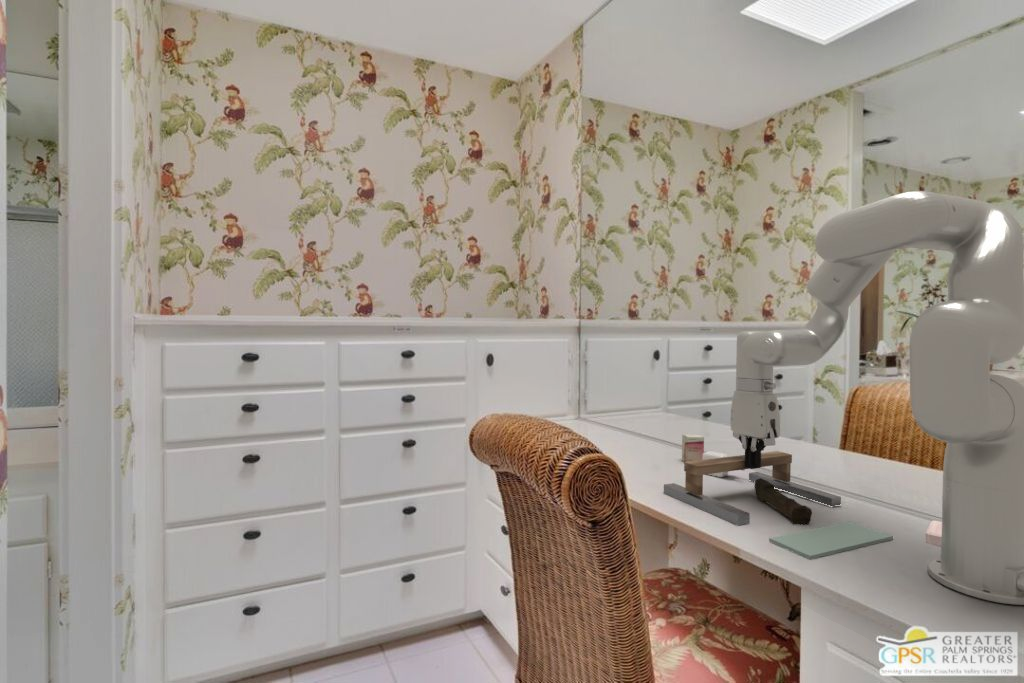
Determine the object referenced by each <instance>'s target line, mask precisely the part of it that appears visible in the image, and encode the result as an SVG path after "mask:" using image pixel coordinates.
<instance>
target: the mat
mask: <svg viewBox="0 0 1024 683" xmlns="http://www.w3.org/2000/svg"><path fill="white" fill-rule="evenodd" d="M891 540H894V535H891V534H889V533H886V532H883V531H879V530H876V529H874V528H870V527H868V526H864V525H862V524H858V523H856V522H853V521H845V522H841V523H835V524H832V525H831V524H830V525H826V526H821V527H817V528H812V529H811V528H810V529H807V530H802V531H798V532H792V533H787V534H782V535H778V536H773V537H769V538H768V541H770V543H771V542H772V544H774V545H776V546H778V547H781V548H783V549H785V548H786V550H787V549H788V551H789V552H792V551H793V552H792V553H794V552H795V553H794V554H796V553H798V554H797V555H799V554H800V555H799V556H801V555H802V556H801V557H803V556H805V557H804V558H806V557H807V558H806V559H808V558H809V559H808V560H813V559H812V558H814V559H816V557H818V558H821V557H820V556H822V557H826V556H830V555H834V554H838V553H842V552H846V551H851V550H855V549H858V548H863V547H866V546H867V547H868V546H871V545H876V544H879V543H884V542H887V541H891ZM825 555H826V556H825Z"/></svg>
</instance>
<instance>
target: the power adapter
mask: <svg viewBox="0 0 1024 683" xmlns="http://www.w3.org/2000/svg"><path fill="white" fill-rule="evenodd" d="M723 457H729V455H728V454H727V453H724V452H718V451H715V450H713V451H712V450H709V451H704V453H703V458H702V460H706V459H715V458H723ZM745 470H746V469H743V470H742V471H745ZM728 474H729V471H728V472H720V473H713V474H706V475H707V476H711V475H712V477H716V476H717V477H716V478H724V477H727V476H729V475H728Z"/></svg>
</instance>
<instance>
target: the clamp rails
mask: <svg viewBox="0 0 1024 683" xmlns="http://www.w3.org/2000/svg"><path fill="white" fill-rule="evenodd" d="M759 478H761V479H764V480H766V481H767V482H769V483H771V484H773V485H774V487H775V488H778V489H782V490H785V491H788V492H791V493H794V494H797V495H800V496H803V497H806V498H808V499H812V500H815V501H818V502H821V503H824V504H827V505H830V506H835V505H840V504H841V505H842V496H841V495H840V496H839V495H837V494H833V493H829V492H827V491H822V490H820V489H816V488H813V487H810V486H807V485H803V484H800V483H797V482H793V481H790V482H785V481H782V480H778V479H775V478H772V475H770V474H767V473H766V474H765V473H763V472H760V471H752V472H749V473H748V481H749V480H751V481H756V480H757V479H759ZM751 481H750V482H751ZM663 494H665V495H667V496H669V497H671V498H674V499H676V500H678V501H681V502H683V503H686V504H688V505H690V506H693V507H695V508H697V509H700V510H702V511H704V512H706V513H708V514H710V515H713V516H716V517H718V518H720V519H723V520H725V521H727V522H730V523H731V524H734V525H736V526H742V525H749V524H750V518H751V516H750V515H751V514H750V513H749V512H747V511H745V510H742V509H740V508H737V507H735V506H732V505H730V504H727V503H725V502H723V501H720V500H717V499H715V498H712V497H710V496H708V495H705V494H703V495H699V496H698V495H696V494H693V493H691V492H688V491H686V490H685V486H683V485H680V484H676V483H675V482H674V483H665V484H663Z"/></svg>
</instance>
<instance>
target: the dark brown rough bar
mask: <svg viewBox="0 0 1024 683" xmlns="http://www.w3.org/2000/svg"><path fill="white" fill-rule="evenodd" d="M754 491H755V492H754V493H755V496H756V498H757V499H758V500H759V499H760V502H761V503H763V502H764V503H763V504H768V505H770V506H771V507H772V508H775V509H776V510H778V511H779V512H781V514H783V515H784V516H786V517H787V518H789V519H790V521H791V522H792V525H795V524H800V525H801V524H803V525H804V526H805V524H806V525H809V524H810V522H811V521H812V519H811V518H812V515H813V511H812V508H810V507H808V506H807V505H802V504H800V503H799V502H797V501H796V500H795V499H794V498H789V497H788V496H787V495H785V494H783V493H781V491H779V490H776V489H774V485H773V484H771V483H769V482H767V481H766V480H764V479H761V478H759V479H757V480H756V481H755V483H754ZM803 525H801V526H803Z"/></svg>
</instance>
